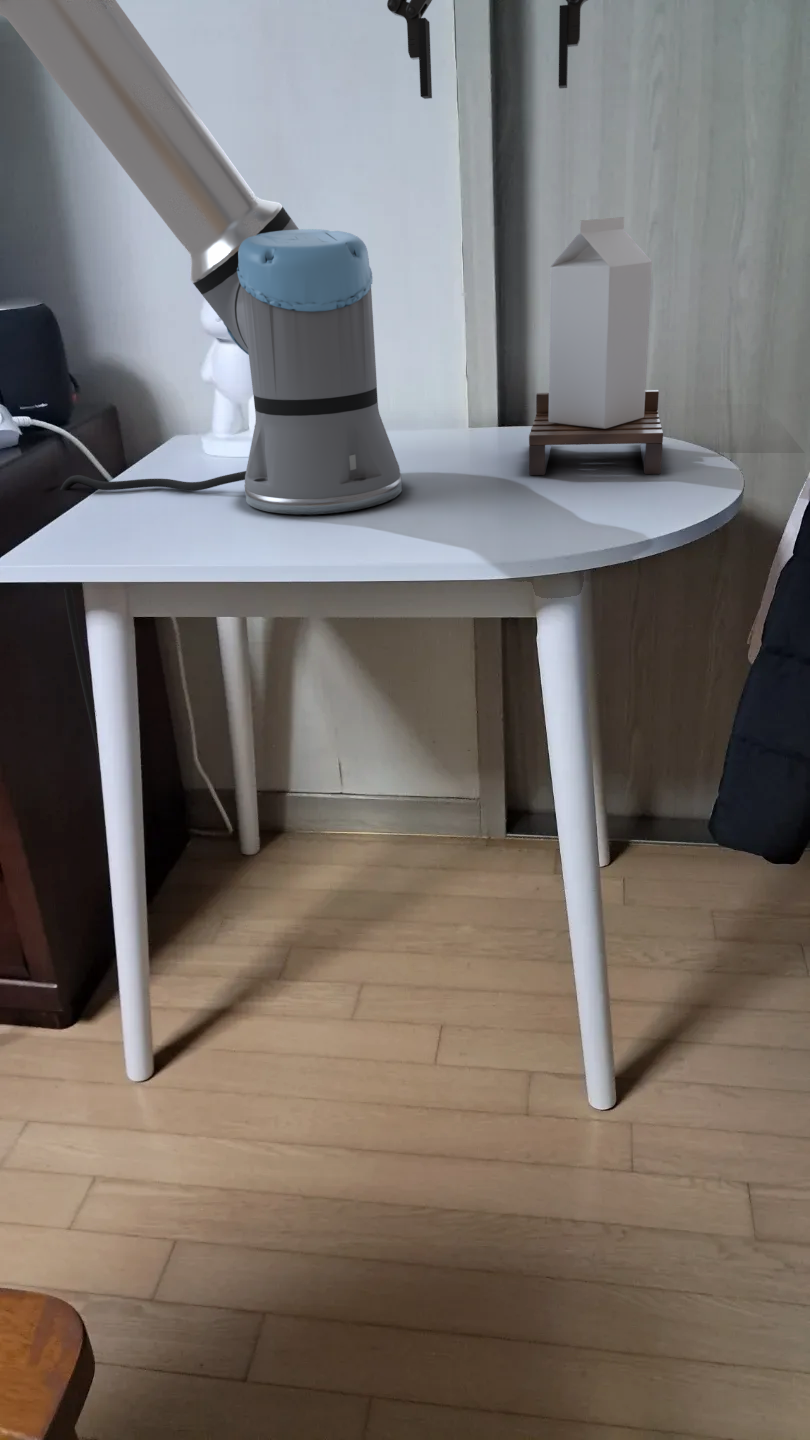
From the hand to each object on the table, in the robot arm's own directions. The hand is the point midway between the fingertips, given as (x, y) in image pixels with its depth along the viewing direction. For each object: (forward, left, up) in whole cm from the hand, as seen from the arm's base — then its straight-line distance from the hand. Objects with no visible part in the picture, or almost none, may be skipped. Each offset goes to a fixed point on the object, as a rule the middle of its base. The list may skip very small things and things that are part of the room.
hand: (493, 92), depth 102 cm
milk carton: (+11, -8, -31) cm, 34 cm away
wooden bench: (+11, -8, -35) cm, 37 cm away
